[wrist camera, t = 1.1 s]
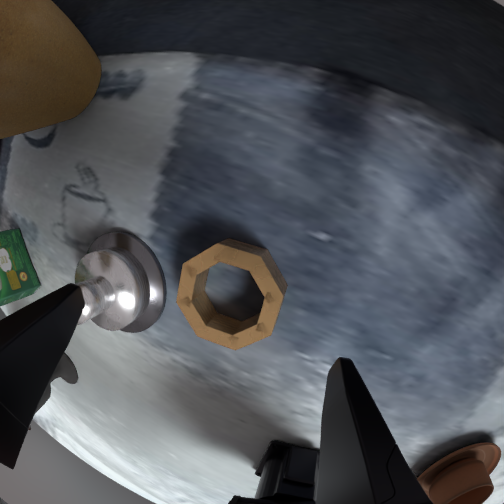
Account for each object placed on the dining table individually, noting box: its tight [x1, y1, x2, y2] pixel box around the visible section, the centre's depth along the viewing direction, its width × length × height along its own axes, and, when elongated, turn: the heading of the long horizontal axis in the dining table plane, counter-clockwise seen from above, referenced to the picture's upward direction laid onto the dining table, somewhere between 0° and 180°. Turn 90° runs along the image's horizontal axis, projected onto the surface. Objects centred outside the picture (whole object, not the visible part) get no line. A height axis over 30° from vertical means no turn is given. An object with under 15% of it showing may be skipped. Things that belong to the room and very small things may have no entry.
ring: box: [176, 238, 288, 350], centre depth 21 cm, size 7×7×2 cm
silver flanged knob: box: [75, 232, 166, 333], centre depth 21 cm, size 9×9×6 cm
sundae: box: [28, 353, 78, 430], centre depth 22 cm, size 7×7×15 cm
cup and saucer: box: [417, 443, 501, 504], centre depth 18 cm, size 12×12×6 cm
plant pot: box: [0, 0, 101, 139], centre depth 14 cm, size 15×15×16 cm
